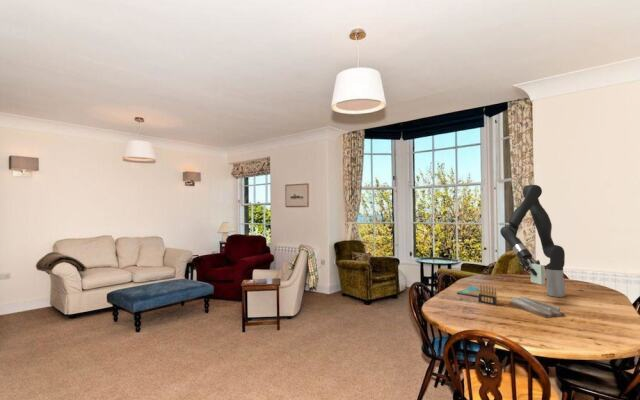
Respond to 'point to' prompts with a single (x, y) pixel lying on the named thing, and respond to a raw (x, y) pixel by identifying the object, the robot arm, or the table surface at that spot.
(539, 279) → the door panel
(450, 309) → the table surface
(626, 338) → the table surface
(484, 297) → the ammunition clip
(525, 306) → the board
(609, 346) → the table surface
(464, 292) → the dish towel
